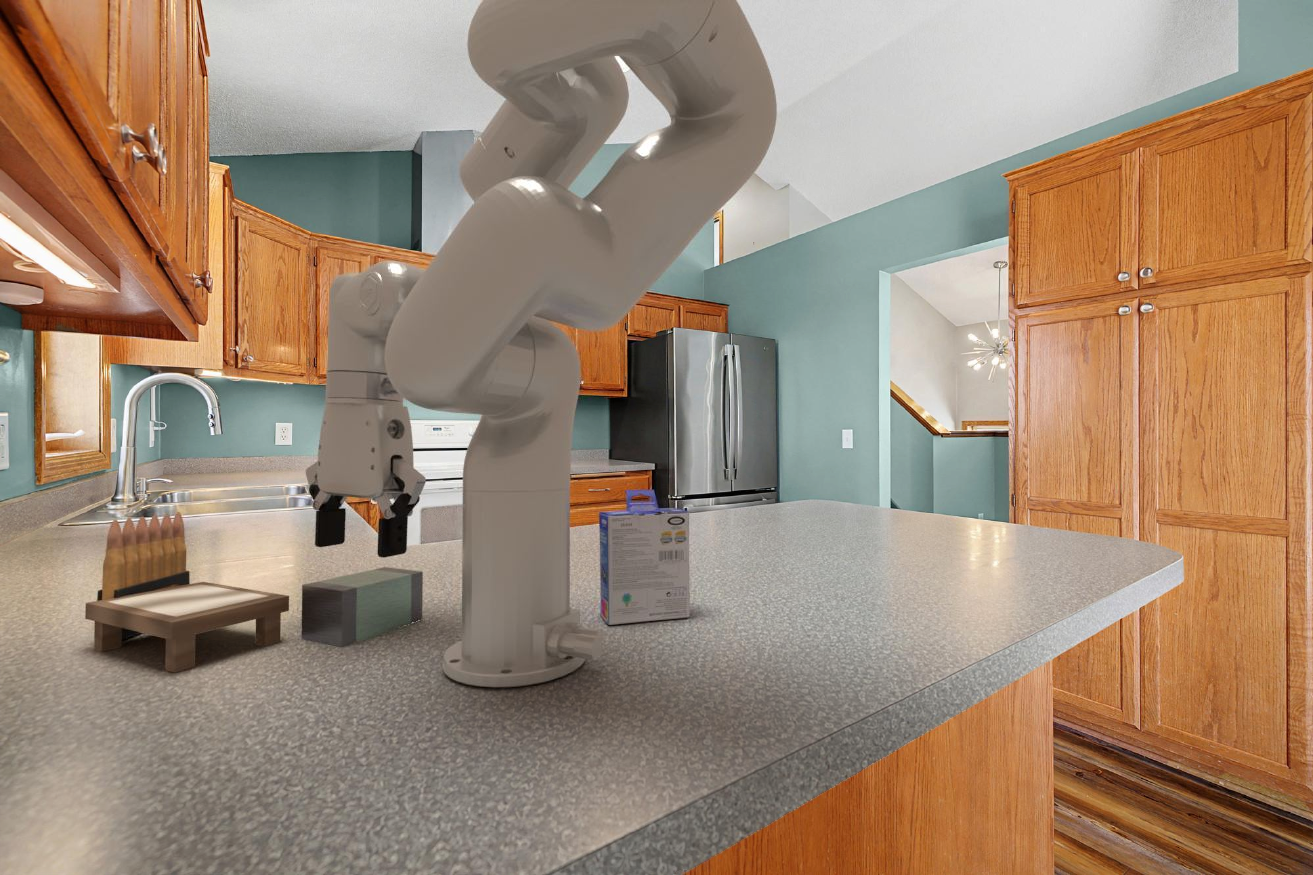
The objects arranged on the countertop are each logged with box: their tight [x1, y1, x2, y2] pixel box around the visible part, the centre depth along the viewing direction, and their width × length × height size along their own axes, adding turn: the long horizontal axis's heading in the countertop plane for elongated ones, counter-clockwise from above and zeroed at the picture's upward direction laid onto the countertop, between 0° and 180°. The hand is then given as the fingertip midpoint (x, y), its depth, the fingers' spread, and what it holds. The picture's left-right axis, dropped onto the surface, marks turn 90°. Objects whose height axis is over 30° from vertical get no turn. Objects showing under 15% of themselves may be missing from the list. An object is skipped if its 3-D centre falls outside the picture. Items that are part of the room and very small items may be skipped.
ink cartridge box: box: [598, 489, 691, 626], centre depth 68 cm, size 10×6×14 cm, turn 108°
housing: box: [301, 566, 424, 648], centre depth 63 cm, size 6×10×6 cm, turn 155°
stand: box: [84, 581, 290, 674], centre depth 57 cm, size 15×10×5 cm, turn 65°
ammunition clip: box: [96, 511, 191, 641], centre depth 63 cm, size 11×2×12 cm, turn 5°
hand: (360, 550), depth 63 cm, fingers open, 9 cm apart
